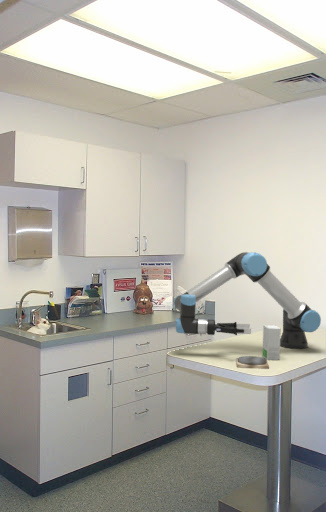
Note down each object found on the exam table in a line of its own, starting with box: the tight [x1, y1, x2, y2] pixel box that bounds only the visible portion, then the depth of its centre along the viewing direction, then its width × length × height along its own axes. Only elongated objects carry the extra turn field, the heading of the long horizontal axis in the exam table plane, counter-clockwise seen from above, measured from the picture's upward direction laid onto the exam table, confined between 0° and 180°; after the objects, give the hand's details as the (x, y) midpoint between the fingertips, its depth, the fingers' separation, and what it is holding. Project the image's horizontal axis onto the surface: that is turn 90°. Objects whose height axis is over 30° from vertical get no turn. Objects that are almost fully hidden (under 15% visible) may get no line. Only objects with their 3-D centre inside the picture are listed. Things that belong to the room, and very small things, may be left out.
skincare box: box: [261, 324, 282, 361], centre depth 237 cm, size 8×7×16 cm
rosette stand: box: [235, 355, 270, 370], centre depth 223 cm, size 14×14×2 cm
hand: (250, 328), depth 238 cm, fingers open, 13 cm apart
